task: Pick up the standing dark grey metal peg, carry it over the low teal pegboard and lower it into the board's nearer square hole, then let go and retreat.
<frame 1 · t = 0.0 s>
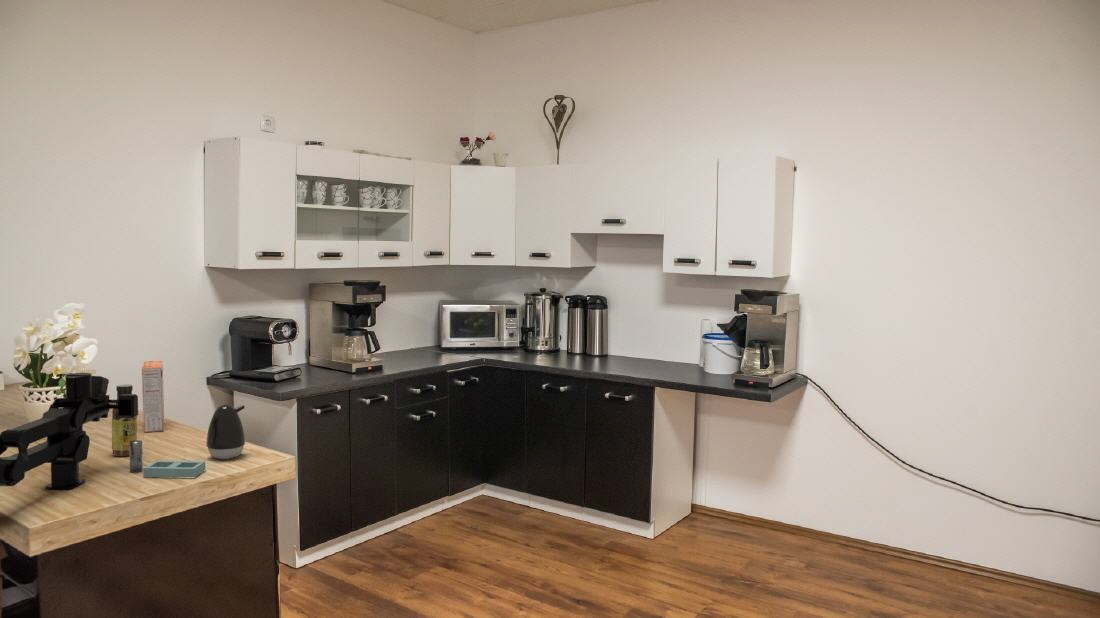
hand: (117, 399, 220), 17 cm above the worktop, tool horizontal, fingers open, 9 cm apart
cracker box: (153, 428, 257), on the worktop
sauce bottle: (124, 455, 225), on the worktop
pump dispenser: (226, 457, 225), on the worktop
peg: (136, 471, 210), on the worktop
pegboard: (174, 474, 208), on the worktop
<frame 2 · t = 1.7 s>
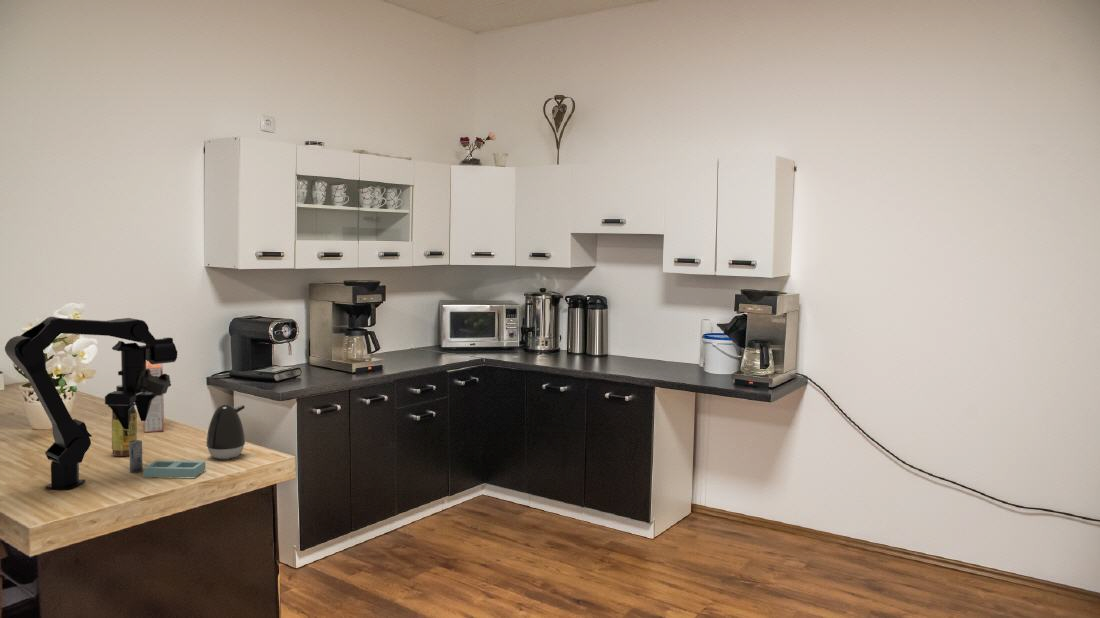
hand: (135, 424, 209), 12 cm above the worktop, tool pointing down, fingers open, 9 cm apart
nothing on the worktop moved.
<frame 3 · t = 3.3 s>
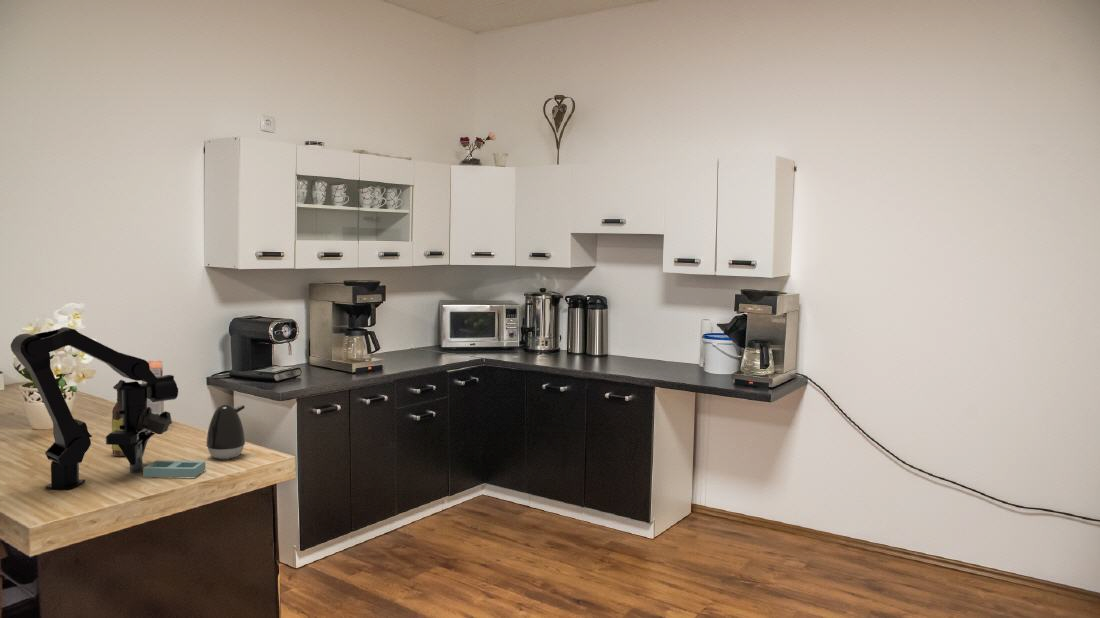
hand: (136, 462, 209), 2 cm above the worktop, tool pointing down, fingers closed on peg, 3 cm apart
peg: (136, 471, 210), on the worktop, touching gripper
everything else where it was.
when the fingers open (4 cm above the worktop, at t = 7.2 s): peg drops 1 cm, resting in pegboard.
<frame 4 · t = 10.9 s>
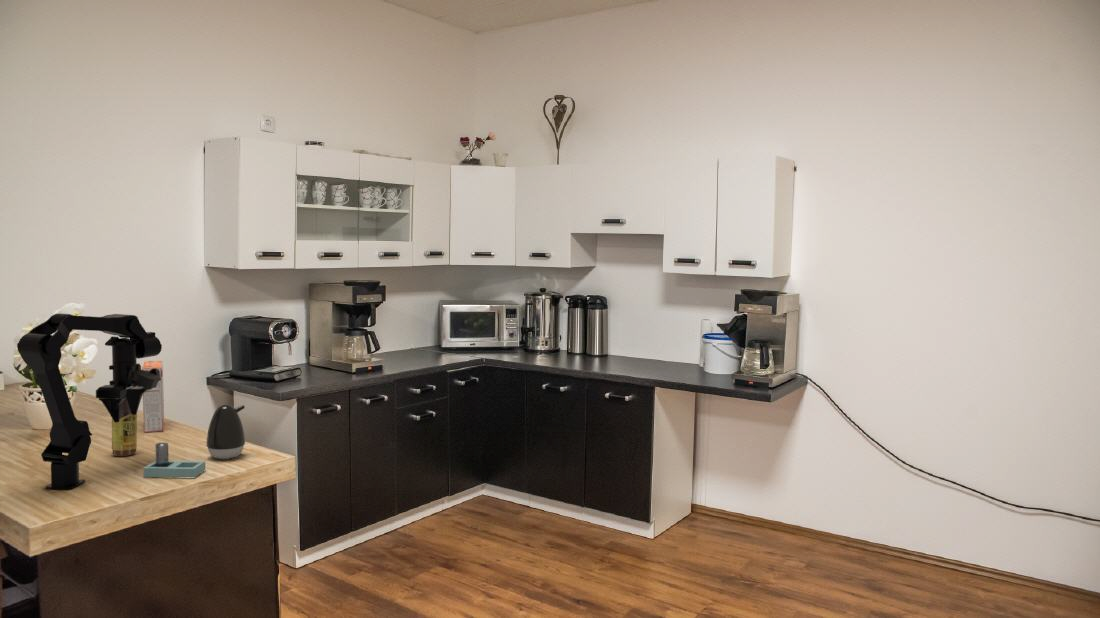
hand: (125, 418, 213), 13 cm above the worktop, tool pointing down, fingers open, 9 cm apart
peg: (162, 473, 208), resting in pegboard
everything else where it was.
at the end: peg 0.0 cm from the target spot on the pegboard, point 0.0 cm above the pegboard's base; peg tilted 0°; the gripper is holding nothing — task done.
